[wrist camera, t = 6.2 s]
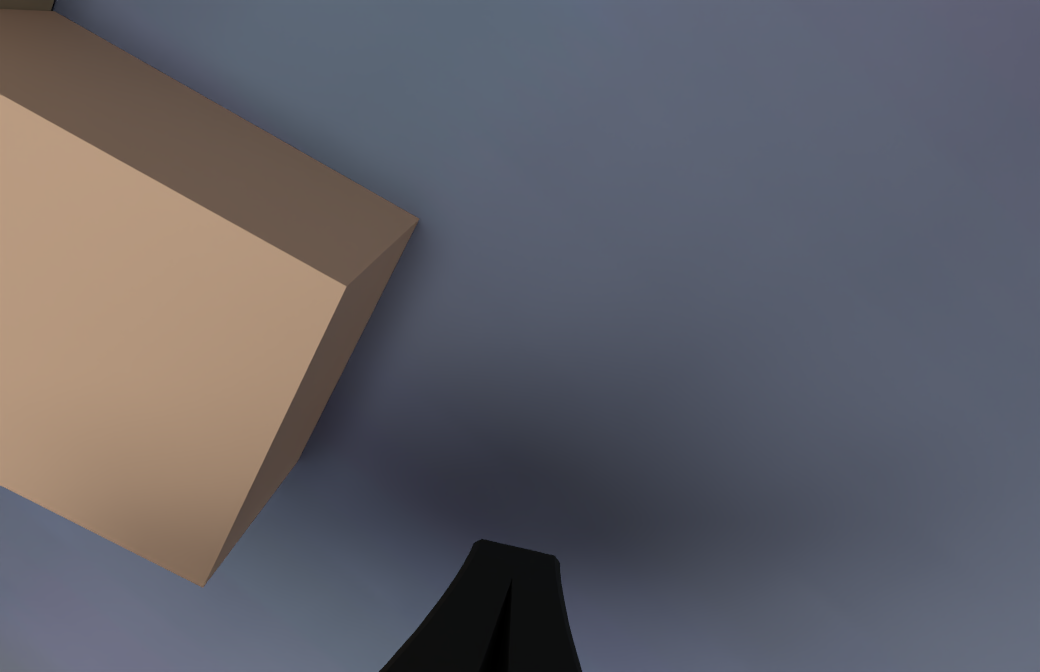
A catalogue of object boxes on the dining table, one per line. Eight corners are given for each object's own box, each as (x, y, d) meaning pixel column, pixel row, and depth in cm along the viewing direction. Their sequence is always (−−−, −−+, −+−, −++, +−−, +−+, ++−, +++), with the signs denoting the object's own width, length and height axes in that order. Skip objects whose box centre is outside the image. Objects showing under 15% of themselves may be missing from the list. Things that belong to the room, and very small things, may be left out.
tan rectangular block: (422, 216, 13) (346, 286, 9) (301, 456, 15) (203, 588, 12) (64, 11, 12) (-166, 1, 9) (-6, 293, 15) (-210, 378, 11)
